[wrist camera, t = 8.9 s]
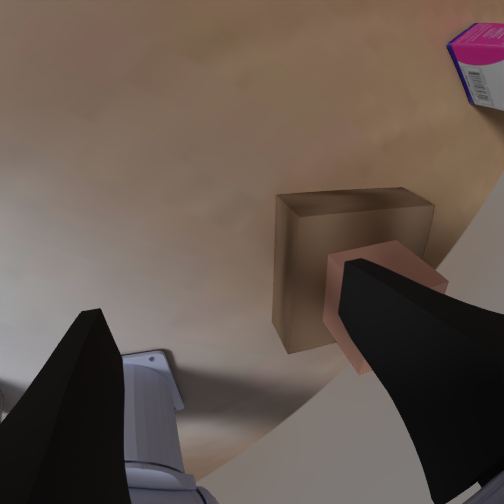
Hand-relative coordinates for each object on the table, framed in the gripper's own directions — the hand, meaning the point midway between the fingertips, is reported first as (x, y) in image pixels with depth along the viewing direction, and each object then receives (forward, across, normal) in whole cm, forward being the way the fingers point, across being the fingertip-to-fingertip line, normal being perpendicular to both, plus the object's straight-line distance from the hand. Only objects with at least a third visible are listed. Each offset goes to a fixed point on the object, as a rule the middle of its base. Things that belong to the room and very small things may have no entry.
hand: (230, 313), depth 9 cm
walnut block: (+11, -10, +6) cm, 16 cm away
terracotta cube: (+7, -9, +6) cm, 13 cm away
